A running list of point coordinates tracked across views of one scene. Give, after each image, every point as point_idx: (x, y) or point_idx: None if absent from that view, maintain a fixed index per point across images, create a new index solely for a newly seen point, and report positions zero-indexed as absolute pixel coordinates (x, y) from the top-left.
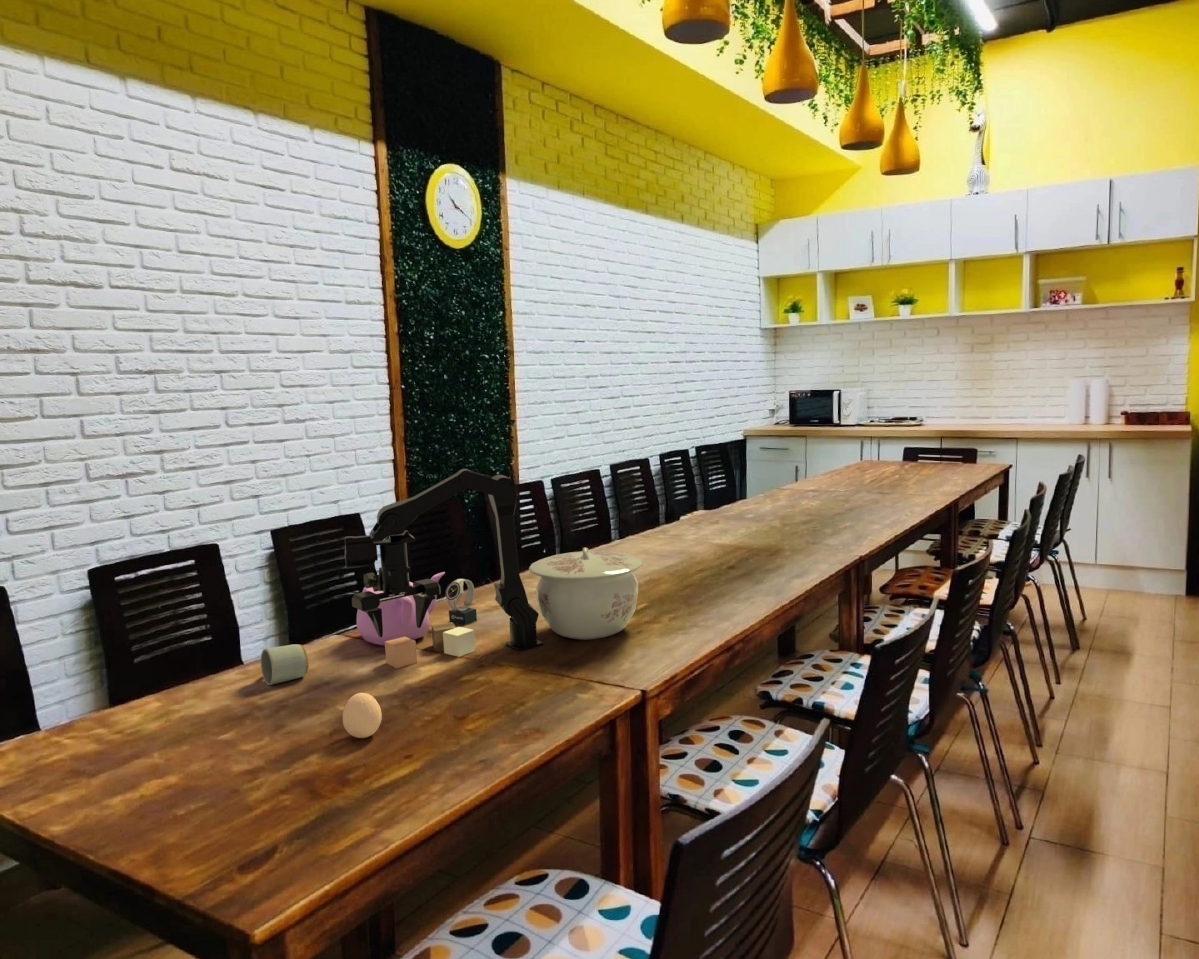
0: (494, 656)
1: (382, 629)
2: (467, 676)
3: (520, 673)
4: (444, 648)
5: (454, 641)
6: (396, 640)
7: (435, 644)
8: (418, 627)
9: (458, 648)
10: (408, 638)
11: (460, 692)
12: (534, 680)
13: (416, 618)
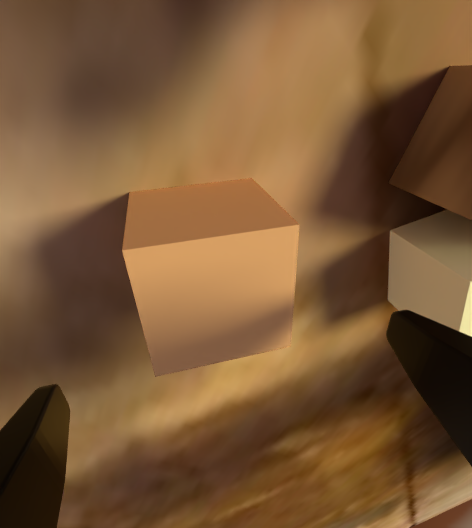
0: None
1: (56, 511)
2: (296, 437)
3: (378, 452)
4: (405, 242)
5: None
6: (209, 277)
7: (413, 193)
8: (389, 330)
9: None
10: (290, 280)
11: (230, 499)
12: (365, 481)
13: (452, 361)
